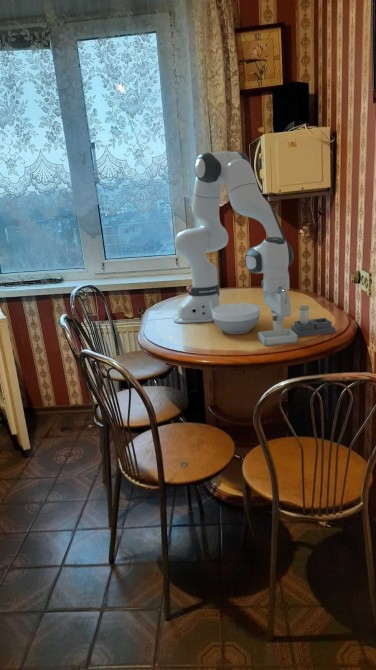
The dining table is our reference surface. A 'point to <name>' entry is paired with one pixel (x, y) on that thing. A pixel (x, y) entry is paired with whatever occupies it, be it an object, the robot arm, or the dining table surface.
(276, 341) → the parts tray
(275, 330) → the fuse
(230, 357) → the dining table surface
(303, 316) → the fuse
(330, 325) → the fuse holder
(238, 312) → the bowl
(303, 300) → the dining table surface
